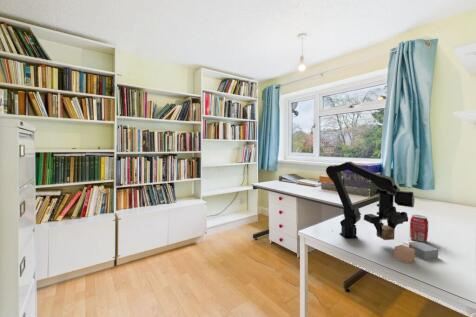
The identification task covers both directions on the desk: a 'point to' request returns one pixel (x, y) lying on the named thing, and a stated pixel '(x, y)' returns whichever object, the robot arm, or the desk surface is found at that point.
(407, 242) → the swatch
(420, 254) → the slate base
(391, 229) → the walnut cube
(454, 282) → the desk surface
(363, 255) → the desk surface
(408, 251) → the terracotta cube
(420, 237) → the soda can
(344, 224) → the robot arm
